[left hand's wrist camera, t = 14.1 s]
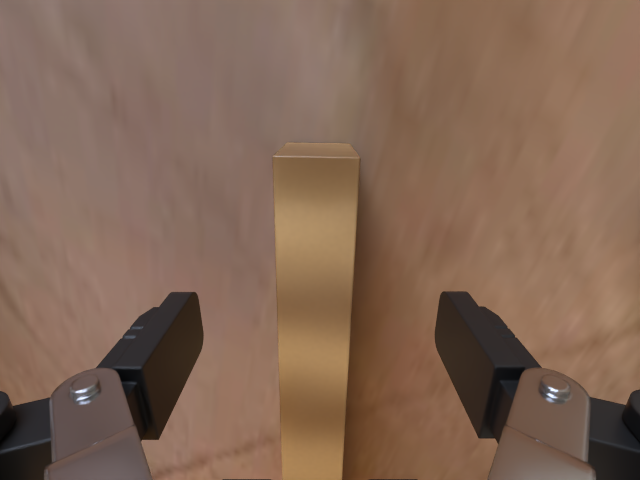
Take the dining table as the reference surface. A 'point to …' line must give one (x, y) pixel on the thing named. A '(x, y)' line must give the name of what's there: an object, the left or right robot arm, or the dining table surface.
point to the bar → (314, 301)
